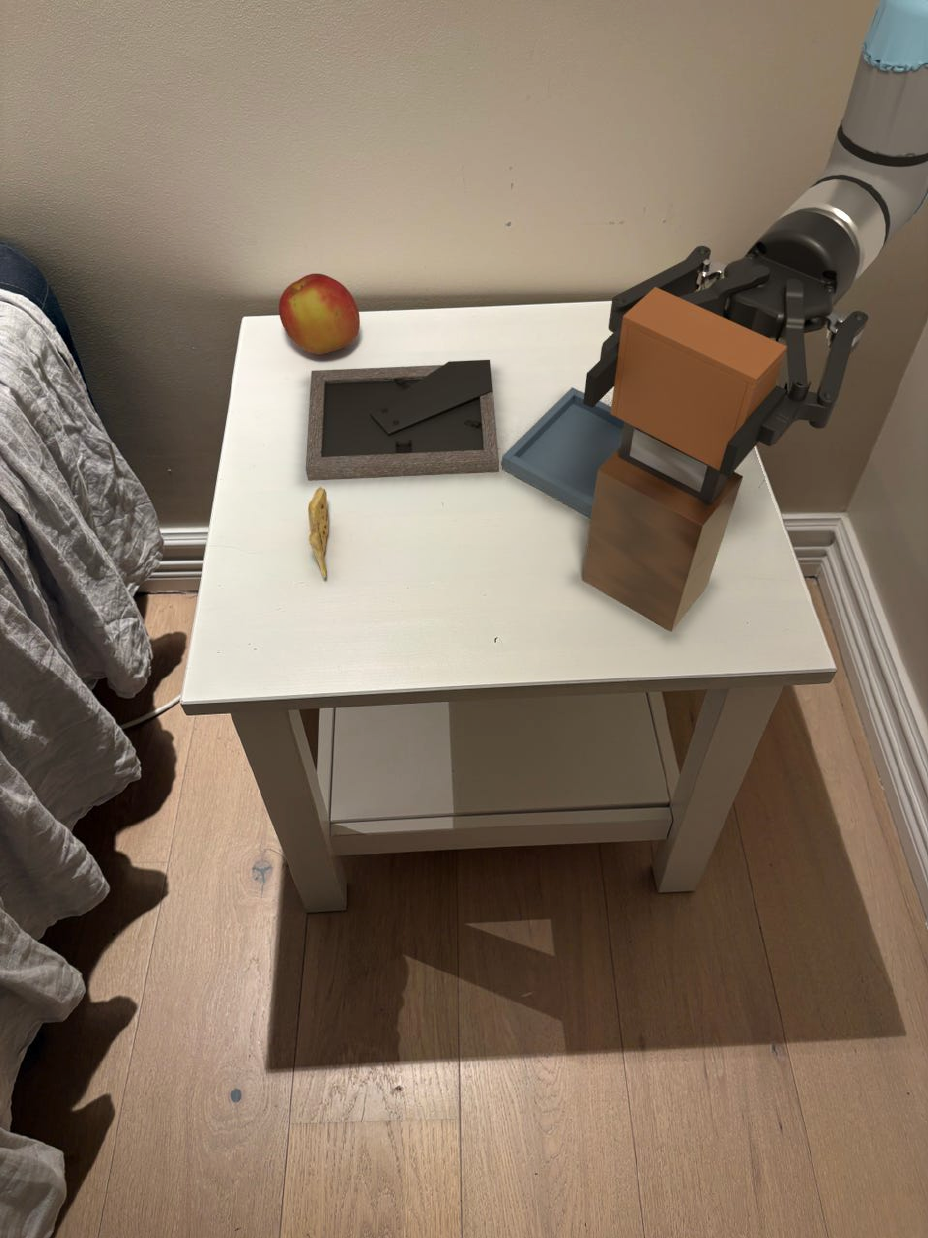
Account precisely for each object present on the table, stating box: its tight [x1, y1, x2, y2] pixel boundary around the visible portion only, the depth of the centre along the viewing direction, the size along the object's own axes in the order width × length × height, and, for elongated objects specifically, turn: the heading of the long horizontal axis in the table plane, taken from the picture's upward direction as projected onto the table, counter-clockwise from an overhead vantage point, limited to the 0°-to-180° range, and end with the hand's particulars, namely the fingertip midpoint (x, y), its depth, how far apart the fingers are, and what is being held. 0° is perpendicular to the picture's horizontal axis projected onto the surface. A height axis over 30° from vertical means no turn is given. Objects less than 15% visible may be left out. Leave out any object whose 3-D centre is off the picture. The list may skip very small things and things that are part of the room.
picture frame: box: [305, 359, 500, 481], centre depth 94 cm, size 13×2×18 cm
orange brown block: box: [610, 287, 787, 470], centre depth 65 cm, size 10×4×9 cm, turn 51°
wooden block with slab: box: [581, 421, 744, 632], centre depth 73 cm, size 9×6×26 cm, turn 52°
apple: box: [278, 273, 361, 355], centre depth 98 cm, size 8×8×8 cm
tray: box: [501, 387, 624, 519], centre depth 91 cm, size 14×12×2 cm
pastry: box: [307, 486, 329, 579], centre depth 85 cm, size 9×2×5 cm, turn 4°
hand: (656, 424), depth 63 cm, fingers closed on orange brown block, 10 cm apart
